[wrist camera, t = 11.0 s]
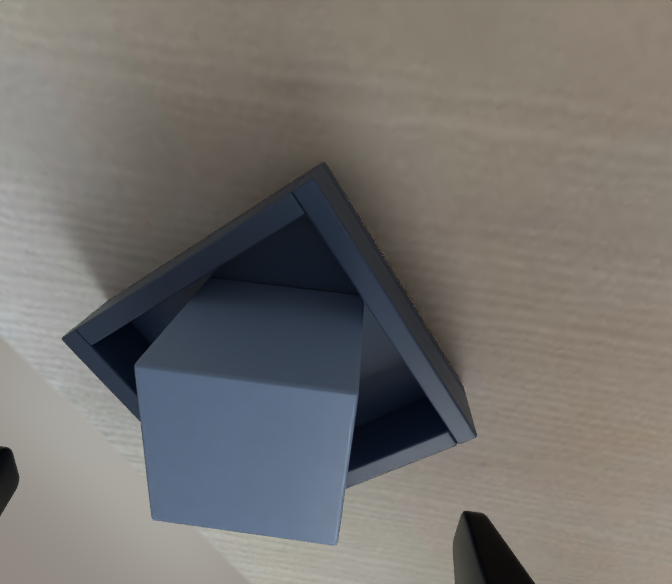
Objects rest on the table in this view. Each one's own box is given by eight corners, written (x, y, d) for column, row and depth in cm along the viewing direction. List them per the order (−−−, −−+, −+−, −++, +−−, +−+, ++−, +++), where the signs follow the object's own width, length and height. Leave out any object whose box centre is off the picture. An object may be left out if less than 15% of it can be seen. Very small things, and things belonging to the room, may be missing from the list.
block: (212, 401, 15) (150, 521, 11) (208, 276, 13) (132, 364, 9) (348, 419, 15) (337, 547, 11) (364, 294, 13) (358, 393, 9)
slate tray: (259, 474, 17) (242, 529, 15) (106, 301, 14) (60, 339, 12) (464, 386, 14) (478, 437, 12) (324, 160, 12) (313, 177, 10)
